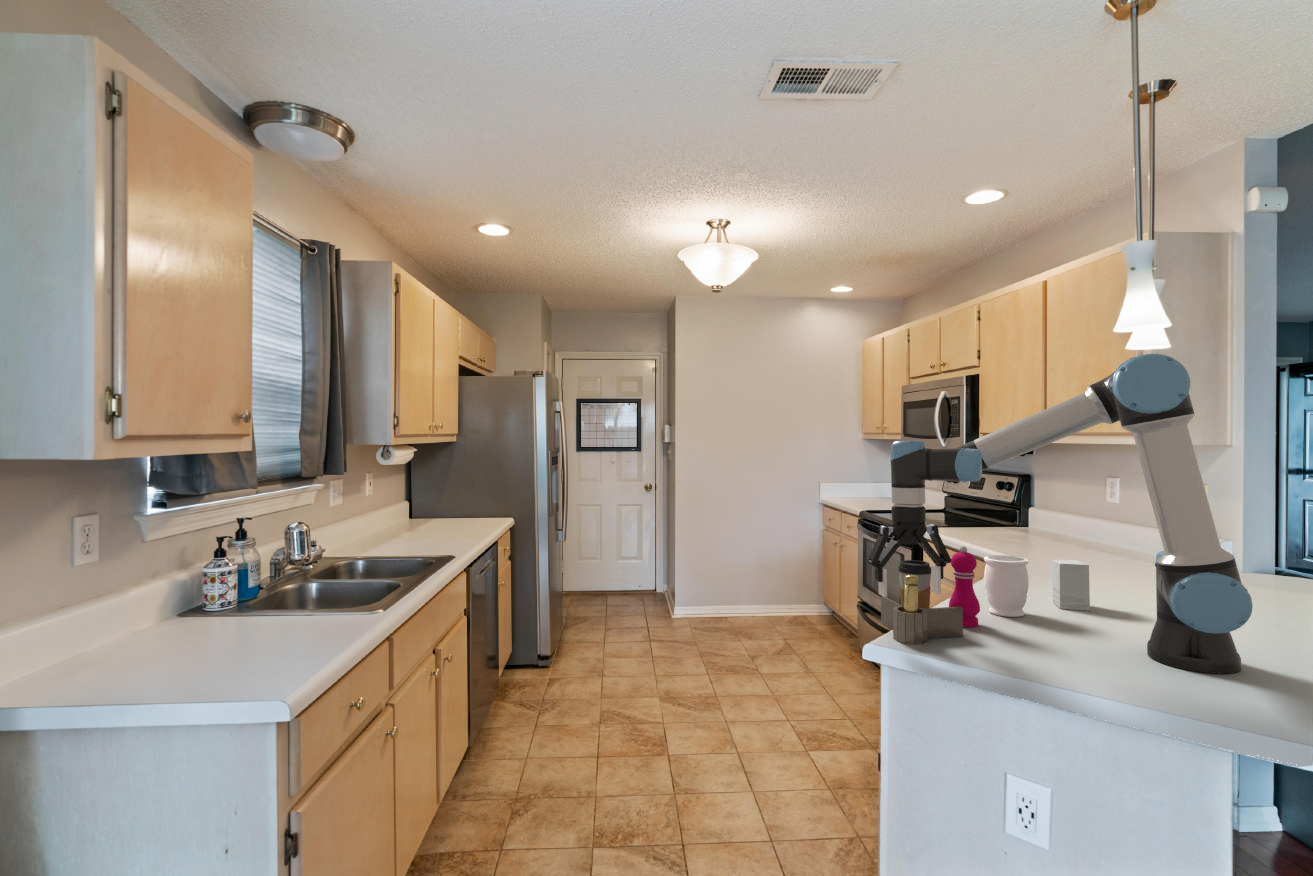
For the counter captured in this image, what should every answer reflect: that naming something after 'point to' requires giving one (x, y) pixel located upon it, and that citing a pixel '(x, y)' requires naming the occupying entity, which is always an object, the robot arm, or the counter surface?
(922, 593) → the coffee cup
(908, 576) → the gold metal bar
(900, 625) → the hinge
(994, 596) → the jar
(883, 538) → the robot arm
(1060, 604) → the supplement box
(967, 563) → the pepper mill
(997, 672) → the counter surface
